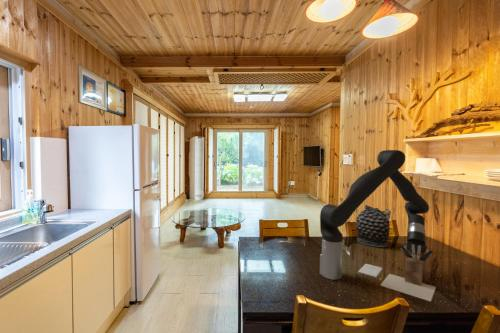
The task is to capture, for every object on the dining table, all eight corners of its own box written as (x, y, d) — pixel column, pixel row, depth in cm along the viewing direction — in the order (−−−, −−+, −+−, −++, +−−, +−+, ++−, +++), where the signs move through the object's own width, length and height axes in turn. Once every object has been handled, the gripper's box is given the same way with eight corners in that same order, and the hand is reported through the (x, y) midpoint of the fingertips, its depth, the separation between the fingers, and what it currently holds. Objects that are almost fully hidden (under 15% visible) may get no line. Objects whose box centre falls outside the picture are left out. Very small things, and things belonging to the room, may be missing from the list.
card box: (404, 281, 113) (405, 259, 113) (406, 278, 116) (406, 257, 115) (420, 286, 109) (421, 263, 109) (421, 283, 112) (422, 260, 111)
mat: (380, 286, 110) (380, 285, 110) (389, 274, 121) (389, 273, 121) (430, 303, 98) (430, 301, 98) (435, 288, 109) (436, 286, 109)
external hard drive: (357, 274, 122) (365, 266, 131) (376, 280, 116) (382, 271, 126) (357, 271, 122) (365, 263, 131) (376, 276, 116) (382, 267, 126)
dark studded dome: (391, 243, 164) (392, 205, 164) (388, 250, 152) (390, 209, 151) (357, 238, 176) (358, 202, 175) (352, 244, 164) (353, 205, 163)
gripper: (400, 228, 126) (398, 261, 116) (433, 232, 119) (434, 268, 109) (400, 236, 130) (398, 268, 120) (432, 240, 123) (433, 275, 113)
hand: (415, 268), depth 115 cm, fingers closed
